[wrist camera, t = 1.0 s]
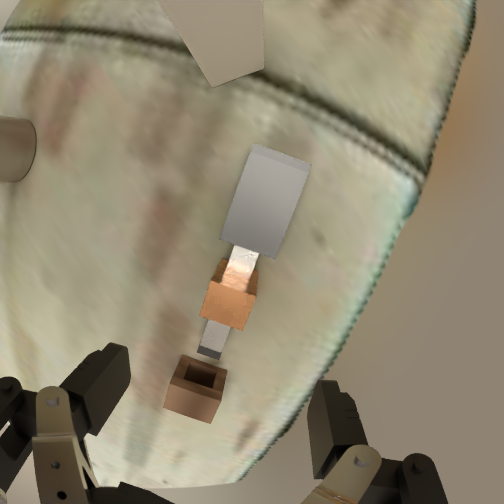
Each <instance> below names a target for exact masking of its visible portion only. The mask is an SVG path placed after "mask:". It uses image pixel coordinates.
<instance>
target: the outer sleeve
mask: <svg viewBox="0 0 504 504" xmlns="http://www.w3.org/2000/svg"><path fill="white" fill-rule="evenodd" d="M311 165H312V164H309V163H307V162H304V161H302V160H299V159H296V158H294V157H291V156H289V155H286V154H283V153H281V152H278V151H275V150H272V149H270V148H267V147H264V146H261V145H258V144H255V143H253V146H252V148H251V151H250V154H249V156H248V159H247V162H246V165H245V167H244V170H243V173H242V175H241V178H240V181H239V184H238V187H237V189H236V192H235V195H234V198H233V201H232V203H231V206H230V209H229V212H228V215H227V218H226V220H225V223H224V226H223V229H222V232H221V235H220V238H219V239H220V240H223V241H225V242H228V243H231V244H234V245H236V246H239V247H242V248H245V249H248V250H250V251H253V252H256V253H259V254H261V255H264V256H267V257H270V258H272V259H276V256H277V254H278V251H279V249H280V246H281V244H282V241H283V239H284V236H285V233H286V231H287V228H288V226H289V223H290V221H291V218H292V215H293V213H294V210H295V208H296V205H297V202H298V200H299V197H300V194H301V192H302V189H303V186H304V184H305V181H306V179H307V176H308V173H309V170H310V168H311Z"/></svg>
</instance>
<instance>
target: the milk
mask: <svg viewBox="0 0 504 504" xmlns="http://www.w3.org/2000/svg"><path fill="white" fill-rule="evenodd" d="M157 1H158V2H159V4H160V5H161V7H162V8H163V10H164V11H165V13H166V15H167V16H168V18H169V19H170V21H171V22H172V24H173V25H174V27H175V29H176V30H177V32H178V33H179V35H180V36H181V38H182V40H183V41H184V43H185V44H186V46H187V48H188V49H189V51H190V52H191V54H192V56H193V57H194V59H195V61H196V62H197V64H198V66H199V67H200V69H201V71H202V72H203V74H204V76H205V77H206V79H207V81H208V82H209V84H210V86H211V87H212V88H214V87H216V86H218V85H221V84H224V83H226V82H229V81H231V80H234V79H237V78H239V77H242V76H245V75H248V74H250V73H253V72H256V71H259V70H262V69H264V13H263V0H157Z"/></svg>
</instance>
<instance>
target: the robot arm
mask: <svg viewBox="0 0 504 504" xmlns="http://www.w3.org/2000/svg"><path fill="white" fill-rule="evenodd" d="M35 147H36V136H35V131H34V128H33V126H32V124H31V123H30V122H29V121H27V120H24V119H18V118H12V117H6V116H0V183H6V182H16V181H19V180H20V179H22V178H23V177H24V176H25V175H26V173H27V172H28V170H29V168H30V166H31V164H32V161H33V158H34V154H35ZM130 379H131V372H130V363H129V354H128V349H127V347H126V346H122V345H119V344H115V343H112V342H110V343H109V344H108V345H107V346H106V347H105V348H104V349H103V350H102V351H100V350H97V351H95V352H93V353H91V354H89V355H88V356H87V357H86V358H85V359H84V360H83V361H82V363H80V364H79V365H78V366H77V368H75V370H74V371H73V372H72V373H71V374H70V375H69V376H68V377H67V378H66V379H65V380H64V381H63V382H62V384H61V385H60V386H59V387H56V386H49V387H45V388H43V389H41V390H40V391H39V392H38V393H37V392H32V391H28V390H23V389H22V386H21V384H20V382H19V380H17V379H16V378H14V377H3V378H0V430H1V429H2V428H3V427H4V425H5V424H6V423H7V422H8V421H9V422H10V425H9V426H8V428H7V429H6V430H5V432H4V433H3V434H2V435H1V437H0V504H7V497H6V492H7V490H8V489H9V487H10V485H11V483H12V482H13V480H14V479H15V477H16V475H17V474H18V472H19V470H20V469H21V467H22V466H23V464H24V462H25V461H26V459H27V457H28V456H29V455H30V453H31V452H32V450H33V458H34V467H35V474H36V481H37V487H38V493H39V498H40V503H41V504H174V503H172V502H170V501H168V500H166V499H164V498H162V497H160V496H158V495H156V494H154V493H152V492H150V491H148V490H145V489H142V488H139V487H136V486H133V485H130V484H127V483H124V482H120V484H119V486H118V488H117V487H99V484H98V482H97V480H96V477H95V475H94V472H93V468H92V465H91V461H90V458H89V454H88V450H87V446H86V442H85V439H84V437H85V435H86V434H87V433H90V434H92V435H94V436H97V435H98V433H99V432H100V430H101V429H102V427H103V425H104V424H105V422H106V421H107V419H108V417H109V416H110V414H111V413H112V411H113V410H114V408H115V406H116V405H117V403H118V402H119V400H120V399H121V397H122V396H123V394H124V392H125V391H126V389H127V388H128V386H129V383H130ZM307 420H308V429H309V437H310V447H311V455H312V465H313V474H314V479H323V481H322V482H321V483H320V484H319V486H318V487H316V488H315V489H314V490H313V491H312V492H311V493H310V494H309V495H308V496H307V497H306V499H305V500H304V501H303V502H302V503H301V504H448V501H447V498H446V495H445V492H444V489H443V486H442V484H441V481H440V478H439V475H438V472H437V470H436V467H435V464H434V462H433V461H432V460H431V458H429V457H428V456H426V455H424V454H420V453H414V454H410V455H409V456H407V457H406V458H405V459H404V460H403V461H397V460H390V459H385V458H382V457H381V456H380V454H379V452H378V451H377V450H375V449H374V448H372V447H370V446H369V445H368V442H367V439H366V436H365V433H364V430H363V426H362V423H361V420H360V419H359V414H358V412H357V408H356V404H355V401H354V400H353V399H352V398H351V397H350V395H349V394H348V393H342V392H340V389H339V386H338V383H337V381H335V380H318V381H317V383H316V386H315V389H314V392H313V395H312V398H311V401H310V404H309V407H308V413H307Z"/></svg>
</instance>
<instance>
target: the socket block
mask: <svg viewBox="0 0 504 504" xmlns="http://www.w3.org/2000/svg"><path fill="white" fill-rule="evenodd" d="M226 374H227V370H225V369H222V368H219V367H216V366H213V365H210V364H207V363H204V362H201V361H198V360H196V359H193V358H190V357H187V356H185V355H182V357H181V359H180V361H179V363H178V366H177V368H176V370H175V372H174V375H173V377H172V379H171V381H170V383H169V387H168V391H167V395H166V398H165V402H164V406H163V408H166V409H168V410H171V411H174V412H176V413H179V414H182V415H185V416H188V417H191V418H194V419H197V420H200V421H203V422H206V423H209V424H211V422H212V420H213V418H214V416H215V413H216V411H217V409H218V407H219V405H220V403H221V399H222V394H223V389H224V384H225V379H226Z"/></svg>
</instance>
